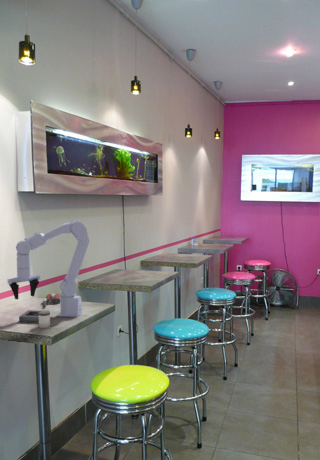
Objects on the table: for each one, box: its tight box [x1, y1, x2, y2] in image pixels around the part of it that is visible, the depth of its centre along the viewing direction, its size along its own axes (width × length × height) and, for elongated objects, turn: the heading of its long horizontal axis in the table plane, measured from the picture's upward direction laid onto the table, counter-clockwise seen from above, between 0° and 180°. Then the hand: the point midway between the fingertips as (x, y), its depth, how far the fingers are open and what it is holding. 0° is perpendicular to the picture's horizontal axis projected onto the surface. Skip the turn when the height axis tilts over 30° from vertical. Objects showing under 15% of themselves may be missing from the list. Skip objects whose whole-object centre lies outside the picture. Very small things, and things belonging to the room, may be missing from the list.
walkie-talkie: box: [42, 292, 60, 308], centre depth 218 cm, size 9×4×20 cm
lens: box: [38, 310, 51, 329], centre depth 180 cm, size 5×5×6 cm
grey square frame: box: [18, 309, 42, 324], centre depth 190 cm, size 10×10×2 cm
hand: (24, 297), depth 190 cm, fingers open, 7 cm apart
